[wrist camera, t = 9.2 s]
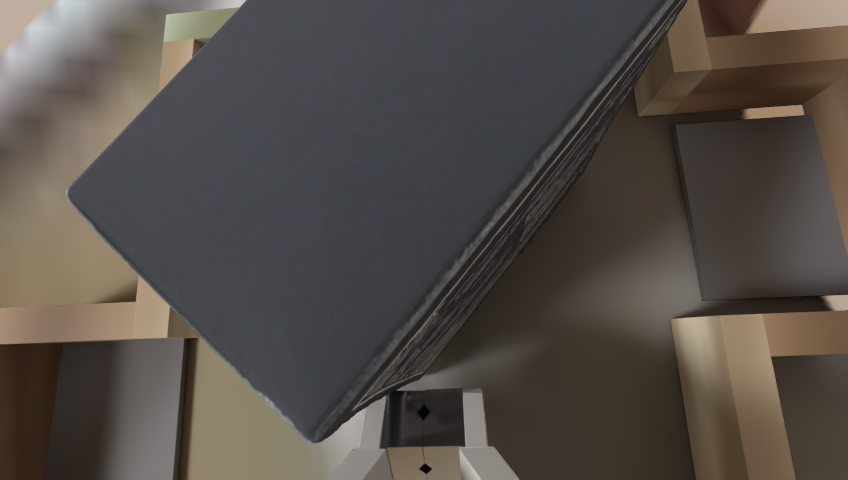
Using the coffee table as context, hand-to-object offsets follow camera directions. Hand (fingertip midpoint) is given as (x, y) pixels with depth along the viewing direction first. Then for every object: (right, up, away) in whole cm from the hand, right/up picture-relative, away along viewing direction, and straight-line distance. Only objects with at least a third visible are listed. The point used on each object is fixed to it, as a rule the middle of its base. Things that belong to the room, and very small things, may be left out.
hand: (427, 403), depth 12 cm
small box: (+1, +5, +6) cm, 8 cm away
